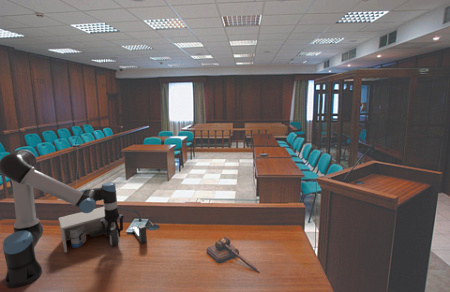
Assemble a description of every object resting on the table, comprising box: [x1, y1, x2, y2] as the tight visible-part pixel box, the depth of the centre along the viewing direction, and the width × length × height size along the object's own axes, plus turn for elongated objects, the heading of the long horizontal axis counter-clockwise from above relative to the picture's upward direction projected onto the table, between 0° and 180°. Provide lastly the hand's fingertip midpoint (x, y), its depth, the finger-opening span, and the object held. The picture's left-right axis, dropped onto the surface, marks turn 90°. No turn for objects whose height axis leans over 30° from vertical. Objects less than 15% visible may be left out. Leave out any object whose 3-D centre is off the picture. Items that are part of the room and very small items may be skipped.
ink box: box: [70, 224, 87, 248], centre depth 163 cm, size 8×5×12 cm, turn 179°
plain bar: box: [131, 224, 148, 245], centre depth 170 cm, size 20×4×11 cm, turn 37°
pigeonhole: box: [58, 206, 116, 253], centre depth 168 cm, size 17×30×16 cm, turn 127°
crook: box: [89, 227, 119, 247], centre depth 165 cm, size 22×12×11 cm, turn 36°
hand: (114, 242), depth 161 cm, fingers closed on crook, 3 cm apart
